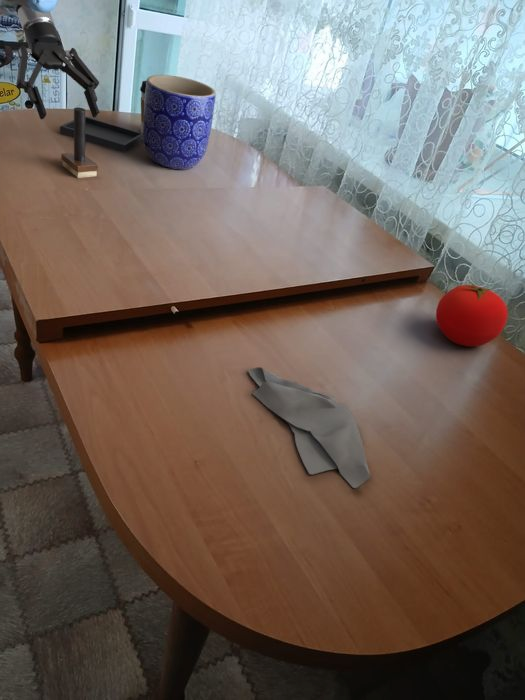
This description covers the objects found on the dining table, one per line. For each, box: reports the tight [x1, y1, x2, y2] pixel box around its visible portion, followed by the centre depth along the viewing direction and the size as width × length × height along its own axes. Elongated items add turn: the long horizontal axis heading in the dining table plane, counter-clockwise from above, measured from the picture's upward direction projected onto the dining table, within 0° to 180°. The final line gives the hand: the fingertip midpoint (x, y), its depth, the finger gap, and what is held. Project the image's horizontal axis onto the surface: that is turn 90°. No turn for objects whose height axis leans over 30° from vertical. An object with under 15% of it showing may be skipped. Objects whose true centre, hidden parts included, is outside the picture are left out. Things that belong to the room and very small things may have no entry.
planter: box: [143, 74, 217, 170], centre depth 149 cm, size 18×18×21 cm
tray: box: [59, 115, 144, 153], centre depth 159 cm, size 20×14×2 cm
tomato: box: [435, 280, 509, 347], centre depth 109 cm, size 12×14×11 cm
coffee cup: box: [139, 80, 147, 133], centre depth 165 cm, size 8×8×15 cm
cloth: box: [247, 366, 371, 490], centre depth 83 cm, size 26×14×2 cm, turn 27°
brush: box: [60, 106, 99, 179], centre depth 133 cm, size 8×5×15 cm, turn 42°
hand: (70, 115), depth 133 cm, fingers open, 13 cm apart
